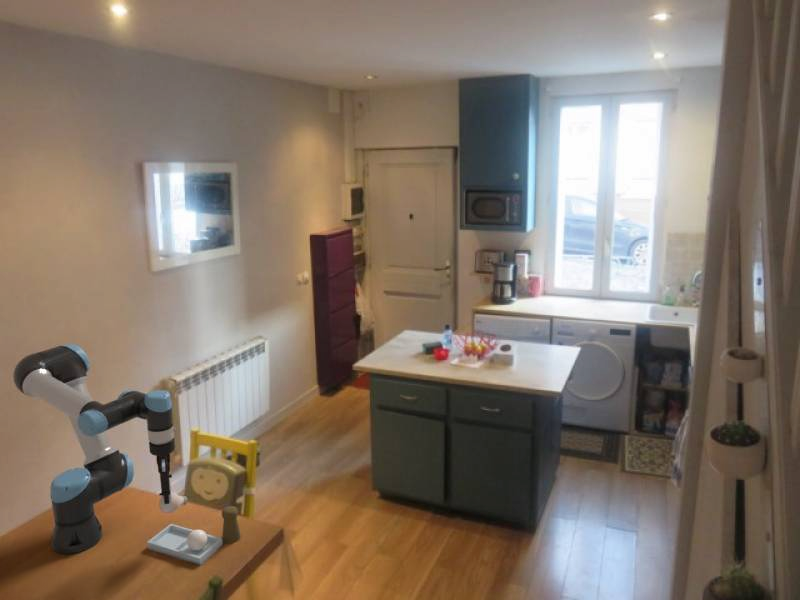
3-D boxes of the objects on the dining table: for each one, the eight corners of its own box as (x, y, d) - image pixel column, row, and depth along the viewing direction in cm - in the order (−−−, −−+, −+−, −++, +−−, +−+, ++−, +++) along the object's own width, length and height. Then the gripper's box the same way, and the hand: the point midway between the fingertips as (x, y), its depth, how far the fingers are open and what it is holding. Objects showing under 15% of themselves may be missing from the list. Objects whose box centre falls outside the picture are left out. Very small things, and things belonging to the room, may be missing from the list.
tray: (147, 548, 202) (147, 541, 201) (171, 530, 212) (171, 523, 211) (200, 565, 194) (199, 558, 193) (222, 545, 204) (222, 538, 203)
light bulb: (180, 487, 208) (157, 490, 198) (196, 493, 206) (173, 496, 196) (175, 506, 208) (151, 510, 197) (190, 513, 205) (167, 517, 195)
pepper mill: (235, 544, 204) (234, 514, 202) (218, 542, 206) (216, 512, 203) (243, 533, 210) (242, 504, 208) (227, 531, 211) (225, 502, 209)
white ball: (183, 552, 199) (181, 534, 198) (196, 540, 205) (195, 523, 203) (199, 557, 197) (197, 539, 195) (212, 545, 202) (211, 528, 201)
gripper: (175, 452, 186) (181, 519, 192) (173, 424, 205) (178, 486, 210) (148, 456, 184) (155, 524, 189) (149, 427, 202) (155, 490, 208)
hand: (167, 504), depth 200 cm, fingers open, 8 cm apart
